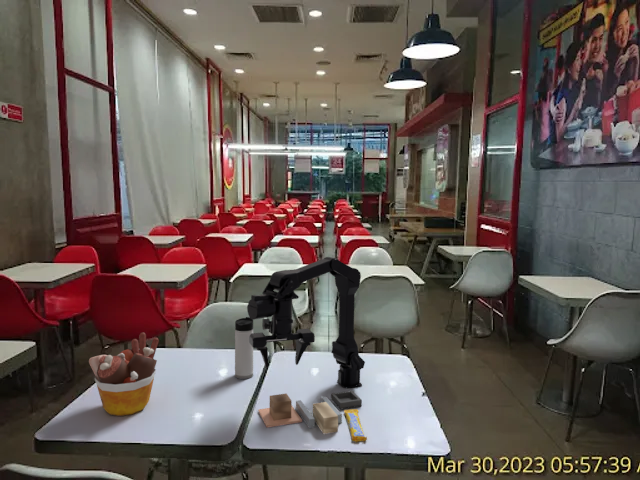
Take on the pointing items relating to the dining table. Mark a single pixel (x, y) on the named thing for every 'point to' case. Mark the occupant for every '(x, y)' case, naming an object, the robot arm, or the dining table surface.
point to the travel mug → (243, 348)
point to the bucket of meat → (126, 377)
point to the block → (280, 406)
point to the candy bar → (355, 425)
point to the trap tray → (346, 400)
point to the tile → (271, 423)
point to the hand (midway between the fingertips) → (281, 366)
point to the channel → (308, 416)
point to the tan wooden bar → (325, 417)
